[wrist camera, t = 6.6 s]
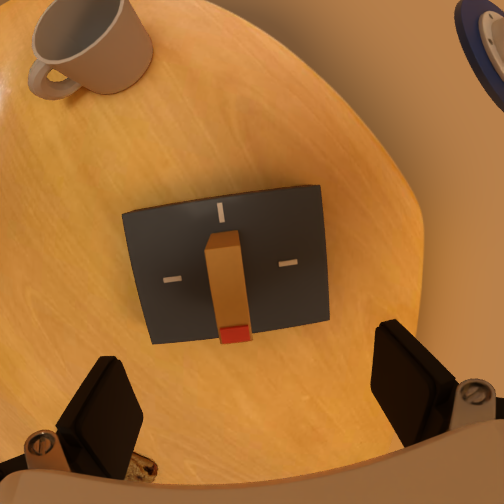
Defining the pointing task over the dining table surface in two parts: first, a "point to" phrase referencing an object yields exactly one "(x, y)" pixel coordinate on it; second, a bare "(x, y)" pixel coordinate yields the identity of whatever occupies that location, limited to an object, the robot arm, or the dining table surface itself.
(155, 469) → the pastry
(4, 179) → the dining table surface
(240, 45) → the dining table surface
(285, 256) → the plate
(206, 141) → the dining table surface
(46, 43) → the cup
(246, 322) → the red-cornered brown block
